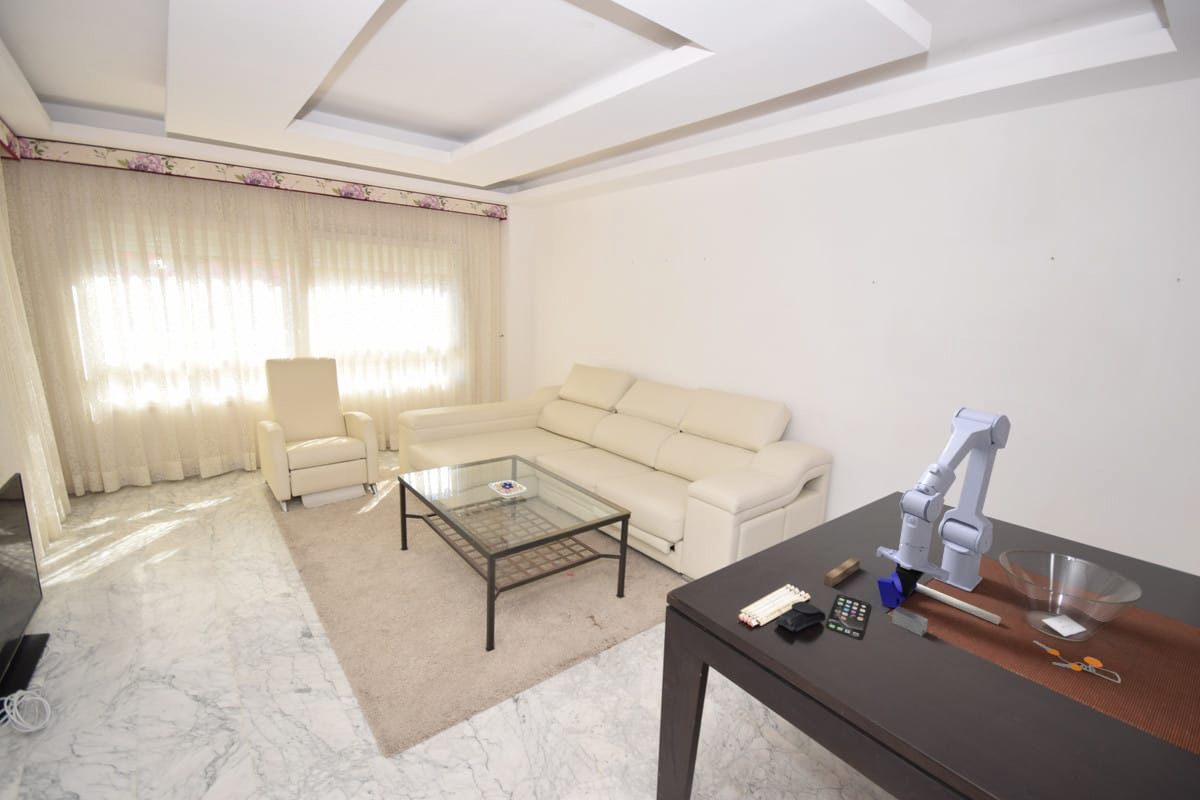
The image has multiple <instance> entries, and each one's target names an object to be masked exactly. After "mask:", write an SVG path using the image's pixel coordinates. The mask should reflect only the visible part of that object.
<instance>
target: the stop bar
mask: <svg viewBox="0 0 1200 800" xmlns="http://www.w3.org/2000/svg"><path fill="white" fill-rule="evenodd" d="M860 563H861V560H860V559H858V558H856V557H852V556H851V557H849V559H847V560H845V561H844V562H843V563H841V564H840V565H838V566H836V567H835V568H833V569H831V570H830V571H829V572H827V573H826V574H825V575H824V582H823V584H825V585H826V586H828V587H830V588H833V587H835V586H836V585H837V584H839V583H840V582H842V581H843V580H844V579H846V578H847V577H849V576H850V575H852V574H853V573H855V572H856V571H857V570H859V567H860Z"/></svg>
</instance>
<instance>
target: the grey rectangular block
mask: <svg viewBox="0 0 1200 800" xmlns="http://www.w3.org/2000/svg"><path fill="white" fill-rule="evenodd" d="M891 623H892V624H895V625H896V626H899V627H901V628H903V629H905V630H908V631H909V632H912V633H914V634H916V635H918V636H920V637H923V636H924V635H925V634H926V633H927V631H928V630H927V628H928V623H929V619H928V618H927V617H923V616H922V615H919V614H917V613H914V612H912V611H910V610H908V609H906V608H904V607H901V606H900V605H899V606H898V607H897V608H894V609H893V612H892V618H891Z"/></svg>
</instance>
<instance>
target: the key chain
mask: <svg viewBox="0 0 1200 800" xmlns="http://www.w3.org/2000/svg"><path fill="white" fill-rule="evenodd" d="M1032 642H1033V643H1034V644H1036V645H1038V646H1040V647H1041V648H1043V649H1045V650H1046V652H1047V653H1048V654H1050V655H1053V656H1057V658H1060V660H1062V661H1064V662H1065V663H1061V662H1055V661H1052V662H1051V663H1052V665H1054V666H1055V665H1056V666H1059V667H1062V668H1067V669H1071V670H1072V671H1075V672H1081V671H1085V672H1089V673H1091V674H1094V675H1096V676H1098V677H1101V678H1102V679H1103V678H1104V679H1105V680H1109V681H1111V682H1113V683H1117V684H1121V682H1122V679H1121V677H1120V675H1119V674H1118V673H1117V672H1115V671H1110V670H1107V669H1104V668H1103V666H1104V665H1103V663H1102V662H1101V661H1100V660H1098V659H1097V658H1094V657H1091V656H1086V657H1083V661H1084V662H1085V663H1087V664H1088V665H1086V664H1084V663H1082V662H1077V661H1076V662H1069V661H1067V660H1066V659H1064V658H1063V657H1061V655H1060V654H1061V653H1060V652H1059V651H1058V650H1056V649H1054V648H1050V647H1048V646H1046V645H1045V644H1042V643H1040V642H1039V641H1038V640H1033V641H1032ZM1096 669H1099V670H1102V671H1104V672H1105V671H1106V672H1108V673H1110V674H1114V675H1115V676H1116V677H1117V680H1115V679H1113V678H1112V679H1111V678H1110V677H1107V676H1105V675H1102V674H1100V673H1098V672H1096Z"/></svg>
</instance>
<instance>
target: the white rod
mask: <svg viewBox="0 0 1200 800" xmlns="http://www.w3.org/2000/svg"><path fill="white" fill-rule="evenodd" d="M913 591H916V592H918V593H920V594H923V595H925V596H926V597H927V596H928V597H930V598H933V599H935V600H938V601H940V602H942V603H945V604H947V605H949V606H952V607H954V608H957V609H960V610H961V611H964V612H966V613H970V614H971V615H972V616H973V615H974V616H976V617H978V618H980V619H983V620H985V621H989V623H990V622H991V623H993V624H995V625H998V626H999V625H1000V623H1001V620H1002V616H999V615H997V614H994V613H992V612H989V611H987V610H985V609H982V608H980V607H977V606H975V605H973V604H969V603H967V602H964V600H963V601H962V600H960V599H957V598H954V597H952V596H950V595H947V594H945V593H942V592H940V591H938V590H935V589H932V588H930V587H927V586H925V585H923V584H920V583H918V582H917V587H916V588H915V589H914V590H913Z"/></svg>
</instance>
